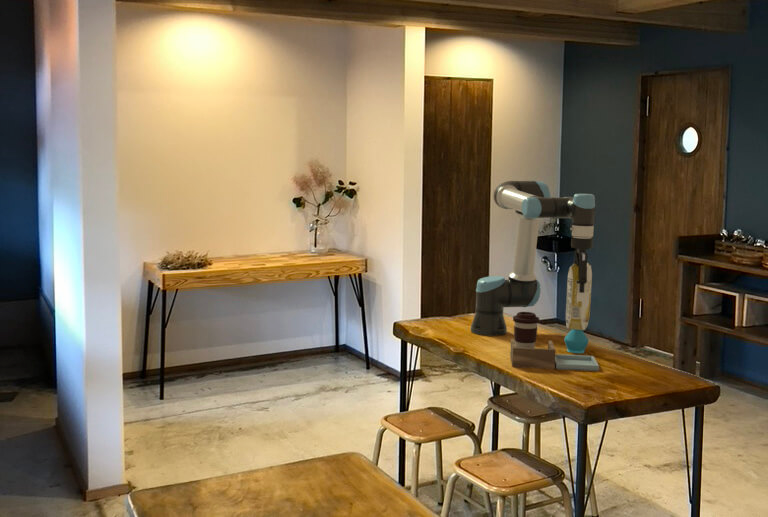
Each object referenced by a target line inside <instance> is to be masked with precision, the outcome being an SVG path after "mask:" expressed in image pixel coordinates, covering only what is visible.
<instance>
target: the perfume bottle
mask: <svg viewBox="0 0 768 517" xmlns="http://www.w3.org/2000/svg"><path fill="white" fill-rule="evenodd" d="M563 340H564V341H563V342H564V344H565V347H566V348H567V349H566V351H567V352H568V353H572V354H584V353H585V349H587V346H588V345H589V338H588V337H587V335H586V334H585V332H584V330H576V329H570V331H569V332H568V333H567V334H566V336H564V338H563Z"/></svg>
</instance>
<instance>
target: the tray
mask: <svg viewBox="0 0 768 517" xmlns="http://www.w3.org/2000/svg"><path fill="white" fill-rule="evenodd" d="M555 370H563V371H564V370H565V371H583V372H585V371H586V372H600V365H599V363H598V361H597V360H596V357H595V356H594V355H580V354H578V355H577V354H557V353H555Z"/></svg>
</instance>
